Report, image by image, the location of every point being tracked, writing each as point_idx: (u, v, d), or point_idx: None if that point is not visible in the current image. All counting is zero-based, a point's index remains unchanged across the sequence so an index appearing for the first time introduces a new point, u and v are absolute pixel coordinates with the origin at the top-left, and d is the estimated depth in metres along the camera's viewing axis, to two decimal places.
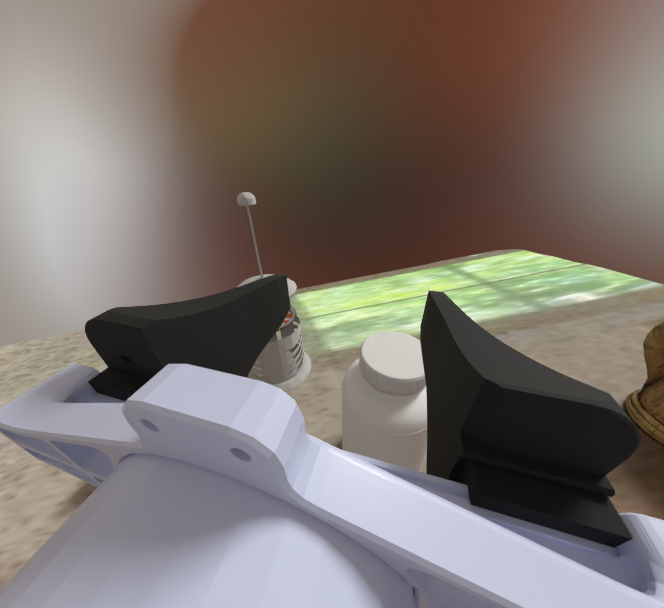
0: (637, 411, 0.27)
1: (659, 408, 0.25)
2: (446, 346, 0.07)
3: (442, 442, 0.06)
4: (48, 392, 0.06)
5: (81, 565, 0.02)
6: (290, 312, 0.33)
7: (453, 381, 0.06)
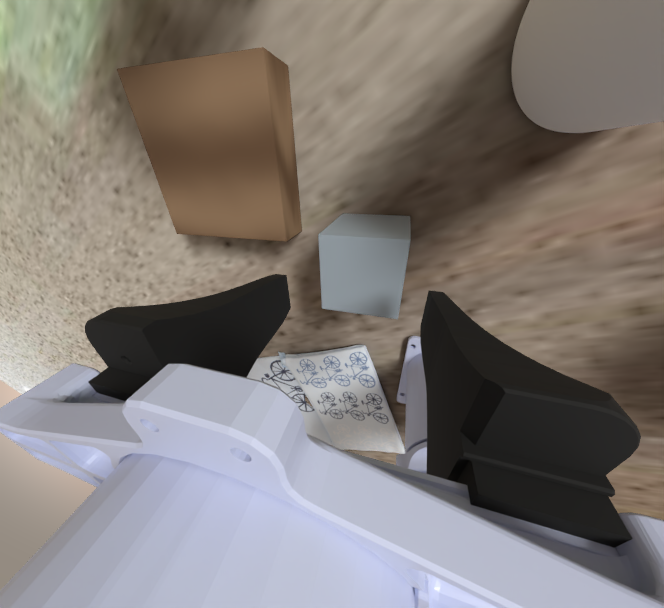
0: None
1: None
2: (446, 346, 0.07)
3: (442, 442, 0.06)
4: (48, 392, 0.06)
5: (81, 565, 0.02)
6: None
7: (453, 381, 0.06)
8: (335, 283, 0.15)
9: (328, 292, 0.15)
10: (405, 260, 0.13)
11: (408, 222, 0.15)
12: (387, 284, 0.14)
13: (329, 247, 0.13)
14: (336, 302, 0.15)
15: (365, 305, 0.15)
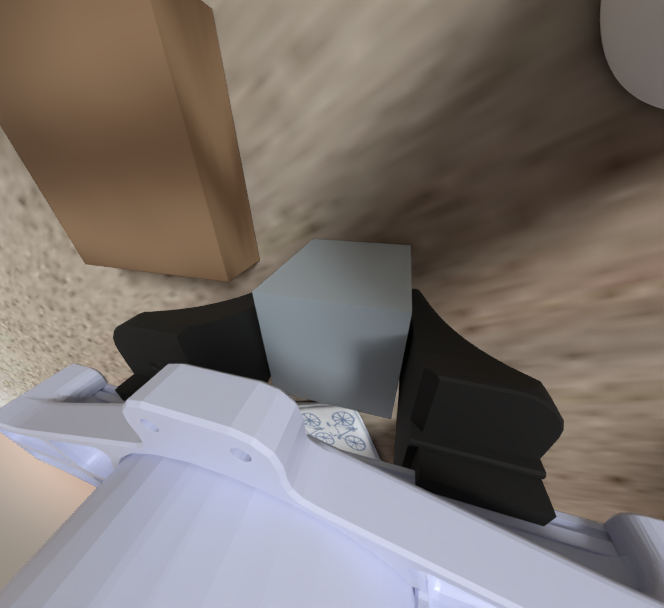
0: None
1: None
2: (410, 340, 0.07)
3: (402, 432, 0.06)
4: (48, 393, 0.06)
5: (81, 565, 0.02)
6: None
7: (411, 373, 0.06)
8: (289, 362, 0.09)
9: (280, 372, 0.09)
10: (402, 342, 0.07)
11: (408, 260, 0.10)
12: (372, 372, 0.08)
13: (272, 312, 0.08)
14: (294, 386, 0.10)
15: (339, 395, 0.09)
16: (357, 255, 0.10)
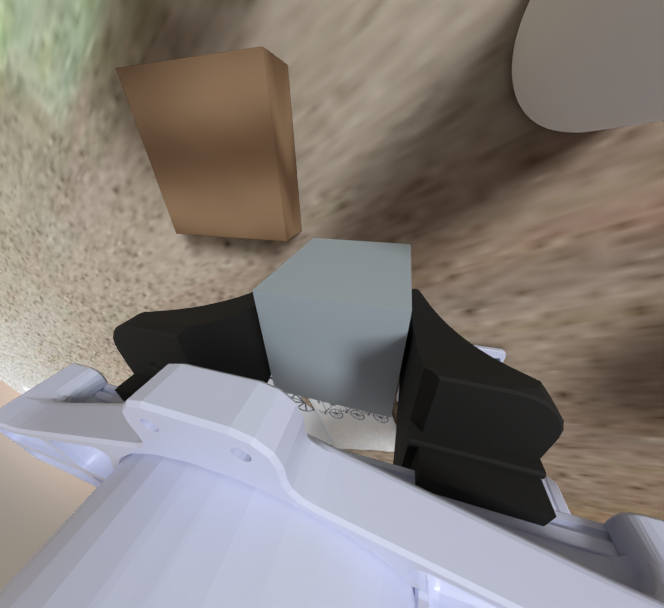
0: None
1: None
2: (410, 340, 0.07)
3: (402, 432, 0.06)
4: (48, 392, 0.06)
5: (81, 565, 0.02)
6: None
7: (411, 373, 0.06)
8: (289, 361, 0.09)
9: (281, 371, 0.10)
10: (402, 341, 0.07)
11: (408, 259, 0.10)
12: (372, 371, 0.08)
13: (273, 310, 0.08)
14: (294, 385, 0.10)
15: (339, 394, 0.09)
16: (357, 254, 0.10)
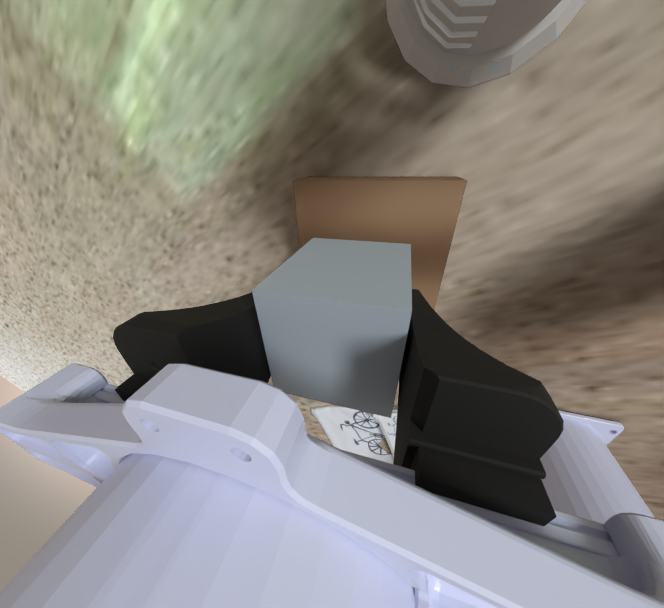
0: None
1: None
2: (410, 340, 0.07)
3: (402, 432, 0.06)
4: (48, 393, 0.06)
5: (81, 565, 0.02)
6: None
7: (411, 373, 0.06)
8: (289, 361, 0.09)
9: (280, 371, 0.09)
10: (402, 341, 0.07)
11: (408, 259, 0.10)
12: (372, 371, 0.08)
13: (272, 310, 0.08)
14: (294, 385, 0.10)
15: (339, 394, 0.09)
16: (357, 254, 0.10)
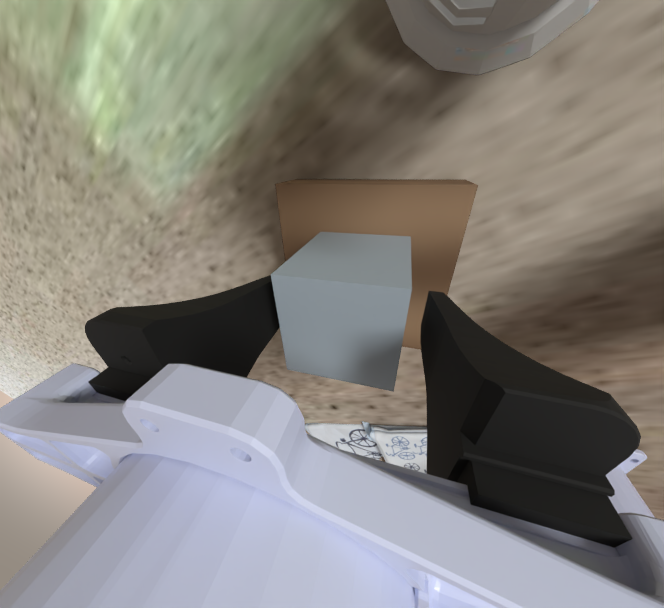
0: None
1: None
2: (446, 346, 0.07)
3: (442, 442, 0.06)
4: (48, 392, 0.06)
5: (81, 565, 0.02)
6: None
7: (453, 381, 0.06)
8: (302, 340, 0.10)
9: (293, 350, 0.10)
10: (404, 317, 0.08)
11: (408, 249, 0.11)
12: (376, 347, 0.09)
13: (288, 293, 0.09)
14: (306, 363, 0.11)
15: (346, 370, 0.10)
16: (362, 245, 0.11)
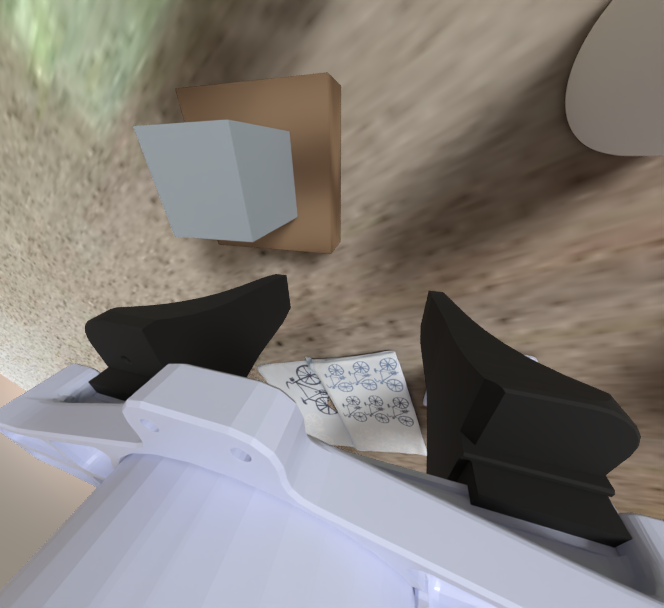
0: None
1: None
2: (446, 346, 0.07)
3: (442, 442, 0.06)
4: (48, 392, 0.06)
5: (81, 565, 0.02)
6: None
7: (453, 381, 0.06)
8: (174, 198, 0.12)
9: (172, 212, 0.12)
10: (232, 152, 0.10)
11: None
12: (226, 192, 0.11)
13: (150, 144, 0.11)
14: (185, 225, 0.13)
15: (214, 226, 0.12)
16: None
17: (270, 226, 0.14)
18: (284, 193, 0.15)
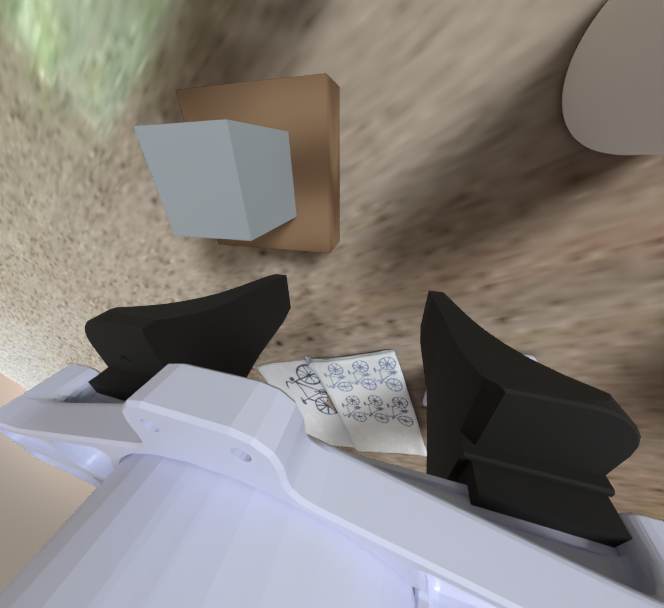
0: None
1: None
2: (446, 346, 0.07)
3: (442, 442, 0.06)
4: (48, 393, 0.06)
5: (81, 565, 0.02)
6: None
7: (453, 381, 0.06)
8: (174, 197, 0.12)
9: (172, 211, 0.13)
10: (231, 152, 0.10)
11: None
12: (224, 191, 0.11)
13: (150, 144, 0.11)
14: (185, 224, 0.13)
15: (214, 225, 0.12)
16: None
17: (269, 225, 0.14)
18: (283, 193, 0.15)
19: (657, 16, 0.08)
